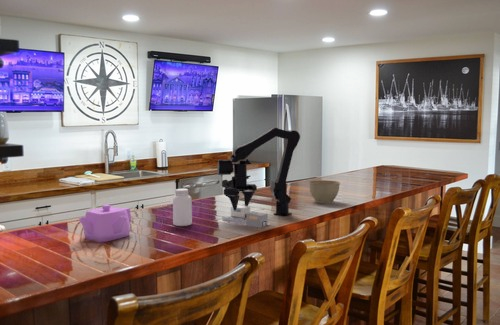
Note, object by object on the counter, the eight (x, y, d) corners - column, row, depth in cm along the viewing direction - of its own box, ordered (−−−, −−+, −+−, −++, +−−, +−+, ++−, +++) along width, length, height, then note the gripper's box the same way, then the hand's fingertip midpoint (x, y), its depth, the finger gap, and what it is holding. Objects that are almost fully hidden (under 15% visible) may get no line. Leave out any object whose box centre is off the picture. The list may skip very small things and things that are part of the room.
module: (237, 214, 226) (237, 205, 226) (250, 216, 222) (250, 206, 222) (230, 216, 222) (230, 207, 221) (243, 218, 218) (243, 208, 217)
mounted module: (253, 222, 208) (253, 211, 208) (267, 224, 204) (267, 213, 204) (246, 224, 204) (246, 213, 203) (260, 226, 200) (260, 215, 199)
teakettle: (132, 231, 196) (131, 200, 195) (126, 241, 179) (125, 208, 178) (88, 232, 194) (87, 201, 193) (79, 243, 177) (77, 210, 176)
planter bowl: (345, 203, 252) (345, 183, 251) (318, 206, 246) (318, 184, 245) (329, 198, 267) (329, 179, 266) (303, 201, 261) (303, 180, 260)
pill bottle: (174, 226, 202) (173, 191, 201) (172, 222, 210) (171, 188, 208) (193, 225, 204) (192, 190, 203) (190, 221, 212) (189, 187, 210)
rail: (227, 218, 217) (227, 214, 217) (270, 224, 205) (270, 220, 205) (217, 222, 211) (217, 218, 211) (260, 228, 199) (260, 224, 198)
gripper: (237, 171, 232) (237, 203, 234) (213, 175, 217) (214, 209, 218) (257, 172, 226) (257, 205, 228) (234, 177, 211) (234, 212, 212)
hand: (240, 208), depth 222 cm, fingers open, 9 cm apart
